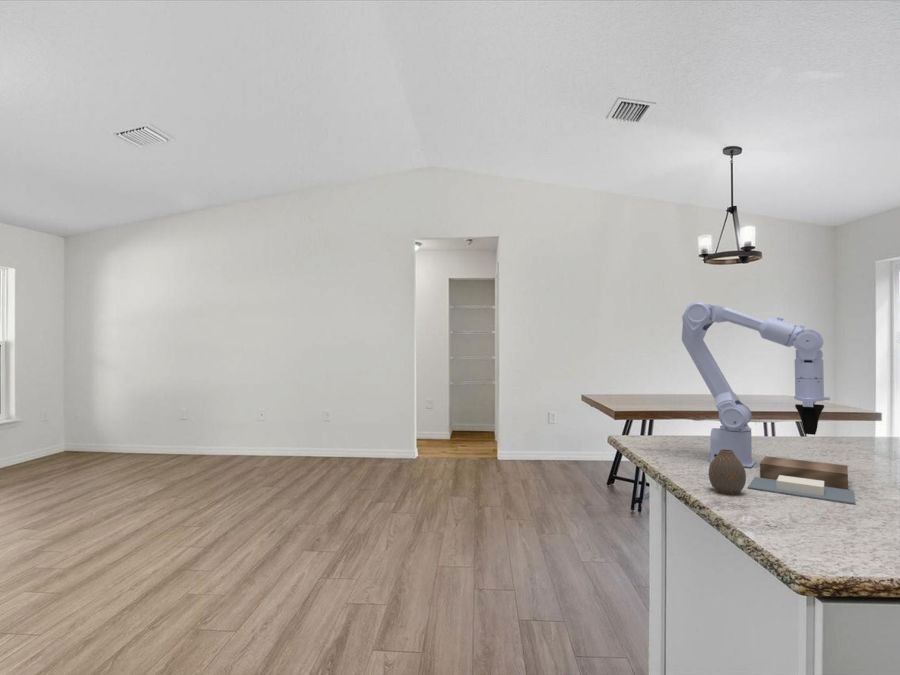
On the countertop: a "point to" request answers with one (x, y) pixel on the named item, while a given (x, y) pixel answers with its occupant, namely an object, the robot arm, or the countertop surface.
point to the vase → (727, 473)
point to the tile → (800, 485)
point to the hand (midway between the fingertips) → (810, 434)
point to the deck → (805, 471)
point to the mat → (829, 493)
